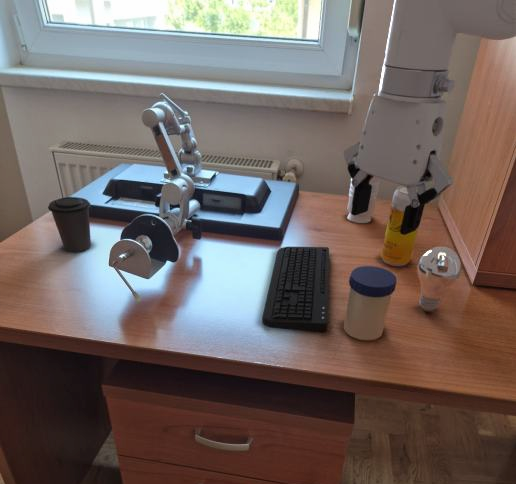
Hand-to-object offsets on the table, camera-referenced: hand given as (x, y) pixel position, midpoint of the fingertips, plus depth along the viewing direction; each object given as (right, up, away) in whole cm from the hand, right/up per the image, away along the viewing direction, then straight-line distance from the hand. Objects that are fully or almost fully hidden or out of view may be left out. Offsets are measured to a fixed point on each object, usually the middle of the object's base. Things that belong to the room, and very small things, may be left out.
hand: (382, 221), depth 68 cm
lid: (0, -7, +5) cm, 9 cm away
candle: (+7, +14, +51) cm, 54 cm away
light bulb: (+12, -12, +17) cm, 24 cm away
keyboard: (-10, -7, +22) cm, 25 cm away
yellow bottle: (+11, 0, +32) cm, 34 cm away
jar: (0, -15, +11) cm, 19 cm away
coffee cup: (-56, +3, +33) cm, 65 cm away
